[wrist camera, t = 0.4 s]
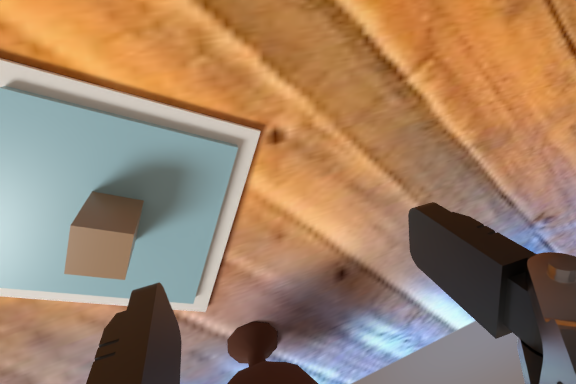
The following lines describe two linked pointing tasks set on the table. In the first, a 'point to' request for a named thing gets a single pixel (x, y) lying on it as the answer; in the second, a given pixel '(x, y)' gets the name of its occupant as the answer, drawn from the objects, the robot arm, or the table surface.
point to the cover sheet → (111, 165)
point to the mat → (156, 113)
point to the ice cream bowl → (262, 357)
